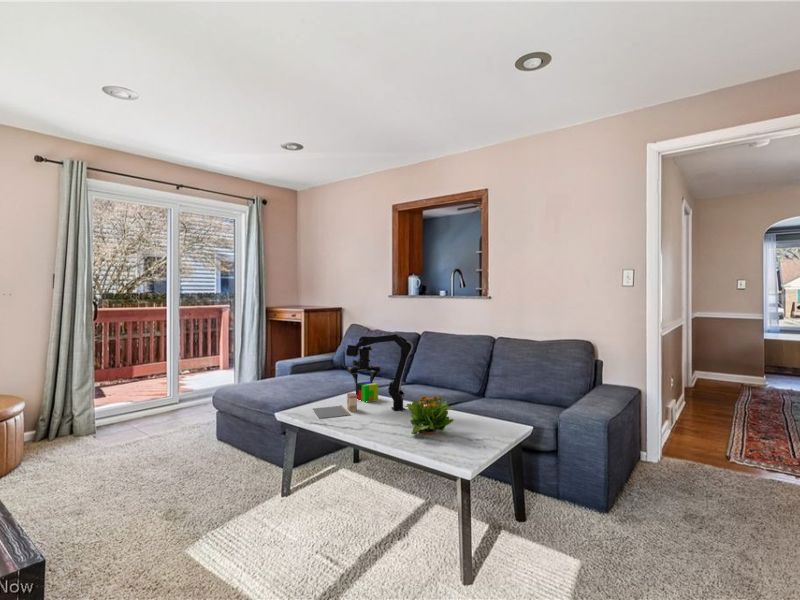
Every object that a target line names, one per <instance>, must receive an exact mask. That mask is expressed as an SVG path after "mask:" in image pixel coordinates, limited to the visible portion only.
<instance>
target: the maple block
mask: <svg viewBox="0 0 800 600" xmlns="http://www.w3.org/2000/svg"><path fill="white" fill-rule="evenodd" d="M346 404H347V405H346V408H347V409H346V410H347V411H348V412H350V411H353V412H357V411H358V400H357V395H356V392H347V395H346ZM356 410H357V411H356Z"/></svg>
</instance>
